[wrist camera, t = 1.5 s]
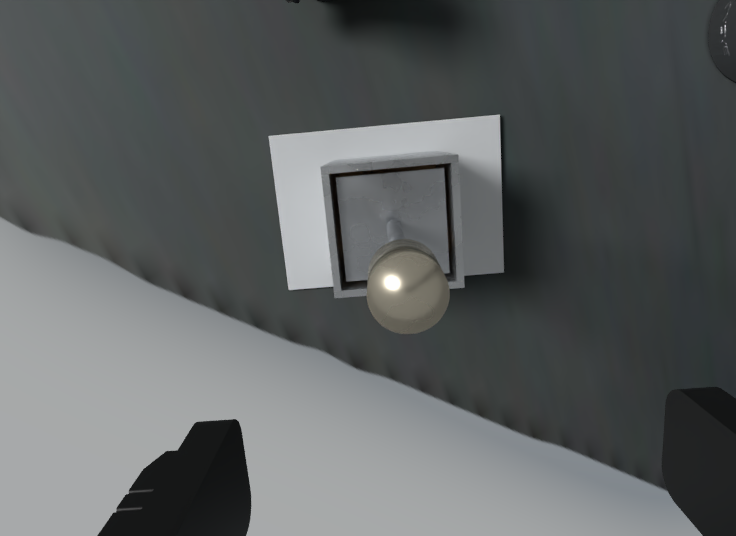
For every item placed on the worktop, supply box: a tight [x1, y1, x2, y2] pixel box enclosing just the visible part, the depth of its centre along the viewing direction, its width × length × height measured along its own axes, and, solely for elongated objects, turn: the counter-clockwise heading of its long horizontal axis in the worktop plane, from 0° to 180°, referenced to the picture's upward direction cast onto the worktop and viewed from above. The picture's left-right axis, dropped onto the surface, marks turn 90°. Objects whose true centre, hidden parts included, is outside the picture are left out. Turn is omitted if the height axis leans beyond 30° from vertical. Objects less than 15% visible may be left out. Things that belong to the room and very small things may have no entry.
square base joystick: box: [320, 150, 465, 298], centre depth 41 cm, size 9×9×12 cm
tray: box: [269, 115, 504, 290], centre depth 47 cm, size 20×14×1 cm
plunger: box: [336, 168, 450, 334], centre depth 28 cm, size 7×7×17 cm
